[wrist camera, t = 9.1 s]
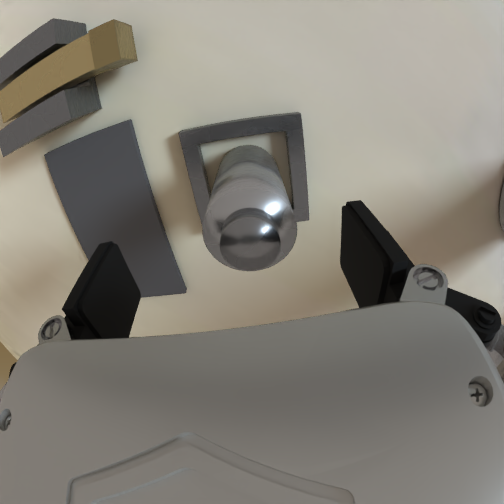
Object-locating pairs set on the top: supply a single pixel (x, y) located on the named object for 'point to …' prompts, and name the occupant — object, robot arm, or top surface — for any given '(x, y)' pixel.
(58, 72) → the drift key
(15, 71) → the socket block
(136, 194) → the mat
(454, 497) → the robot arm
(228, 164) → the peg
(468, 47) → the top surface
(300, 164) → the socket collar
